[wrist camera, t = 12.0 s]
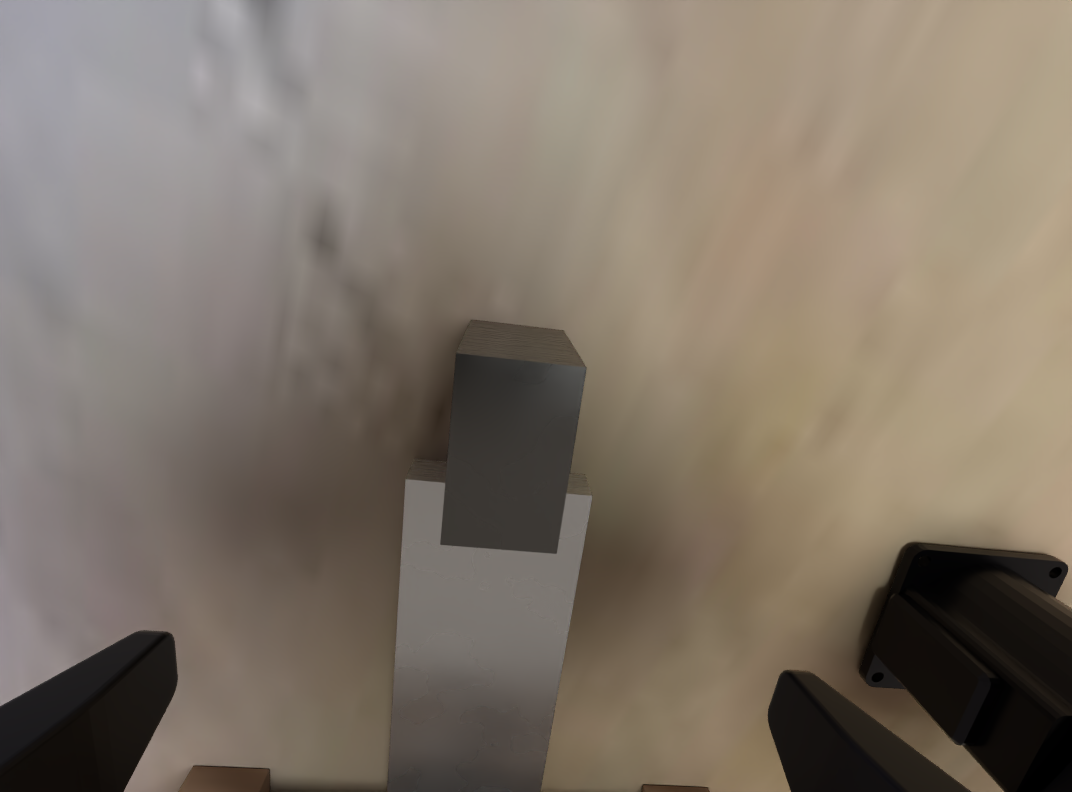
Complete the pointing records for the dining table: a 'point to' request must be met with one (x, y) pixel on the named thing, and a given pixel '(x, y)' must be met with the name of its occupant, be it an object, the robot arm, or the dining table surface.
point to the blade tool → (490, 569)
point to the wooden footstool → (251, 787)
